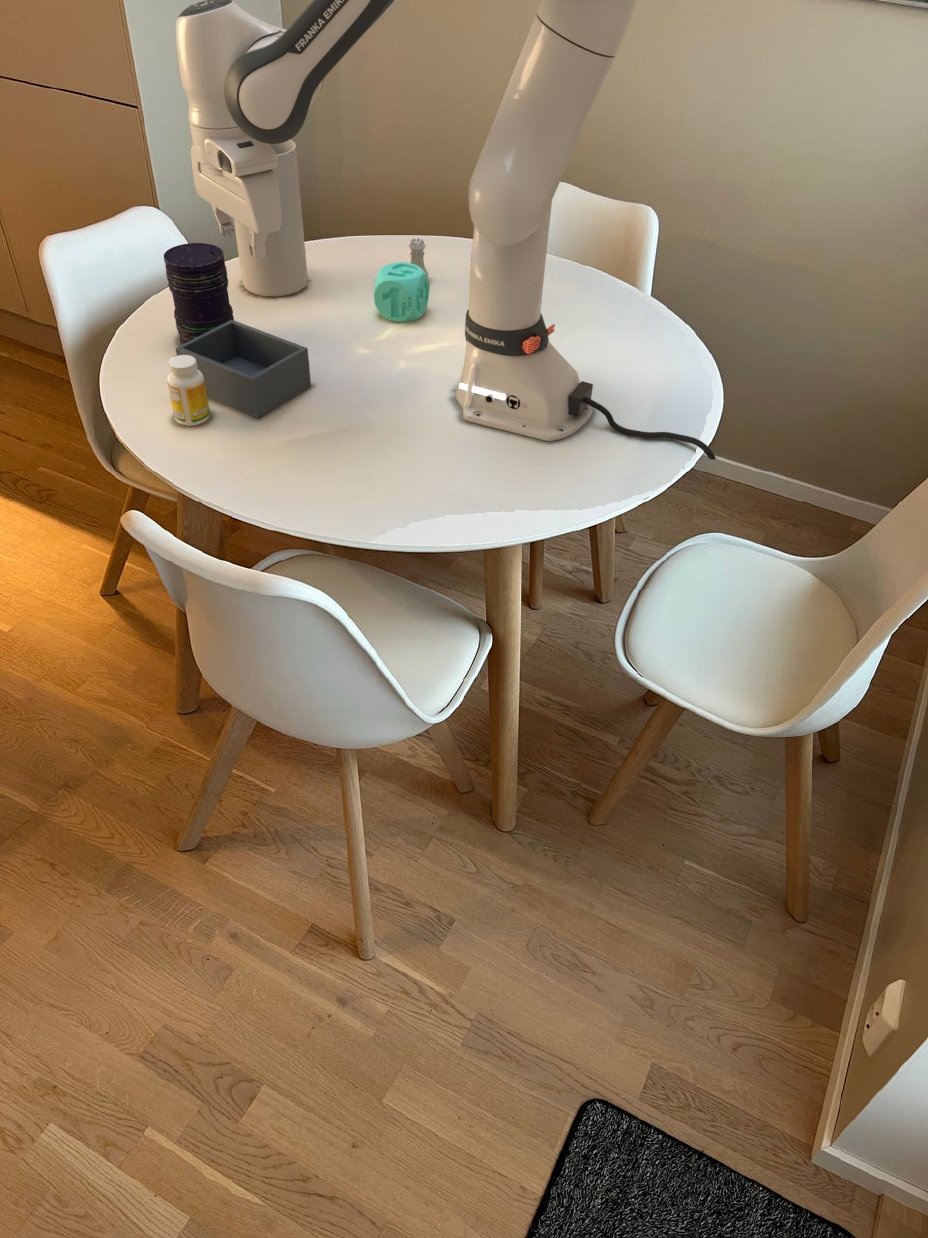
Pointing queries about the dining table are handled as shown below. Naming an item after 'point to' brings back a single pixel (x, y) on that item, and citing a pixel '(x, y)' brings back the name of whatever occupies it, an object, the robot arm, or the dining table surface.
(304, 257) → the cylinder vase
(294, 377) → the box shelf
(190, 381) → the supplement bottle
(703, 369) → the dining table surface
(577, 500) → the dining table surface
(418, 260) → the rook chess piece
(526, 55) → the robot arm
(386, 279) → the decorative dice
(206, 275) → the dark barrel
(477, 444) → the dining table surface
